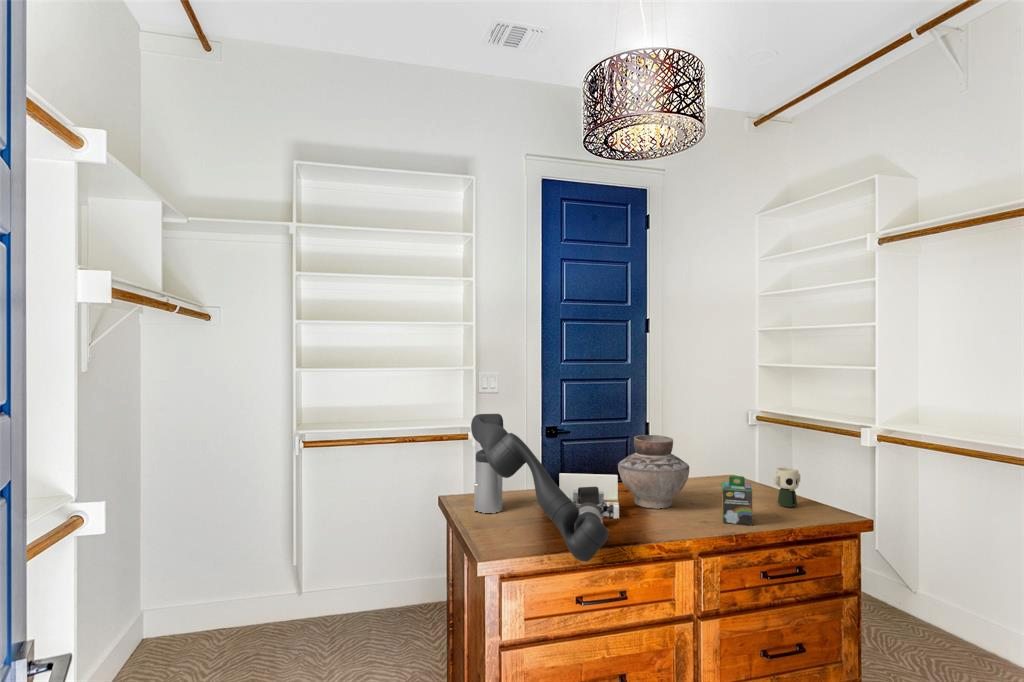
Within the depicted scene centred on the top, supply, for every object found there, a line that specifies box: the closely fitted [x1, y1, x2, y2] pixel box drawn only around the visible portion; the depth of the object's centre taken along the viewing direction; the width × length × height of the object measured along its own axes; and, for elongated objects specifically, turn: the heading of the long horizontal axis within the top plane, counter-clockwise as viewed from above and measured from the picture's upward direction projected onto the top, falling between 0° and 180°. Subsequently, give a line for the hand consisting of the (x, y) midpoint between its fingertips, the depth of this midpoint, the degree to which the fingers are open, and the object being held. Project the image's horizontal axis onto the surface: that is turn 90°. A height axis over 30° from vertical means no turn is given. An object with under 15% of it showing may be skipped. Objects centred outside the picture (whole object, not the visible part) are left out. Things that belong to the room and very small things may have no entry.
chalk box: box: [721, 475, 754, 526], centre depth 193 cm, size 9×9×15 cm
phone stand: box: [577, 487, 599, 505], centre depth 188 cm, size 9×6×12 cm, turn 10°
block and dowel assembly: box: [573, 490, 620, 519], centre depth 197 cm, size 15×3×8 cm, turn 83°
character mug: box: [773, 466, 801, 508], centre depth 210 cm, size 11×7×13 cm, turn 107°
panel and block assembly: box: [558, 472, 620, 519], centre depth 201 cm, size 20×11×12 cm, turn 83°
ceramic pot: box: [617, 434, 690, 510], centre depth 212 cm, size 25×25×24 cm
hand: (589, 504), depth 177 cm, fingers open, 8 cm apart
